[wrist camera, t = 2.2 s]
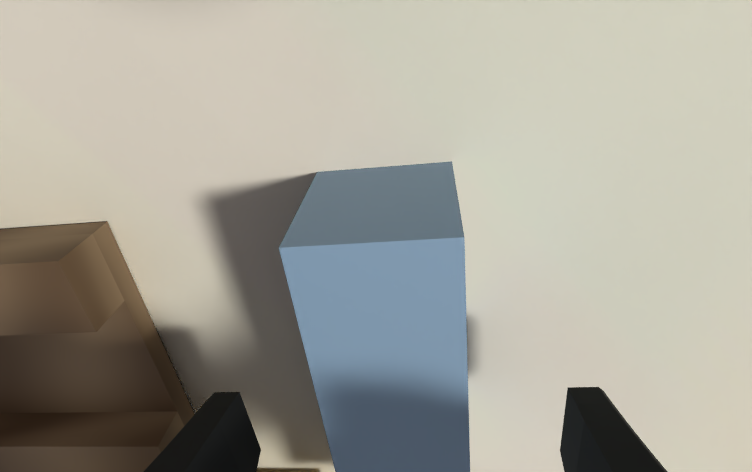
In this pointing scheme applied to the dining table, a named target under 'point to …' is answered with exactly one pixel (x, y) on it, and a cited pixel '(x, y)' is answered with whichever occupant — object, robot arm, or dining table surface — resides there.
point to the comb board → (79, 357)
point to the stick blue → (384, 315)
